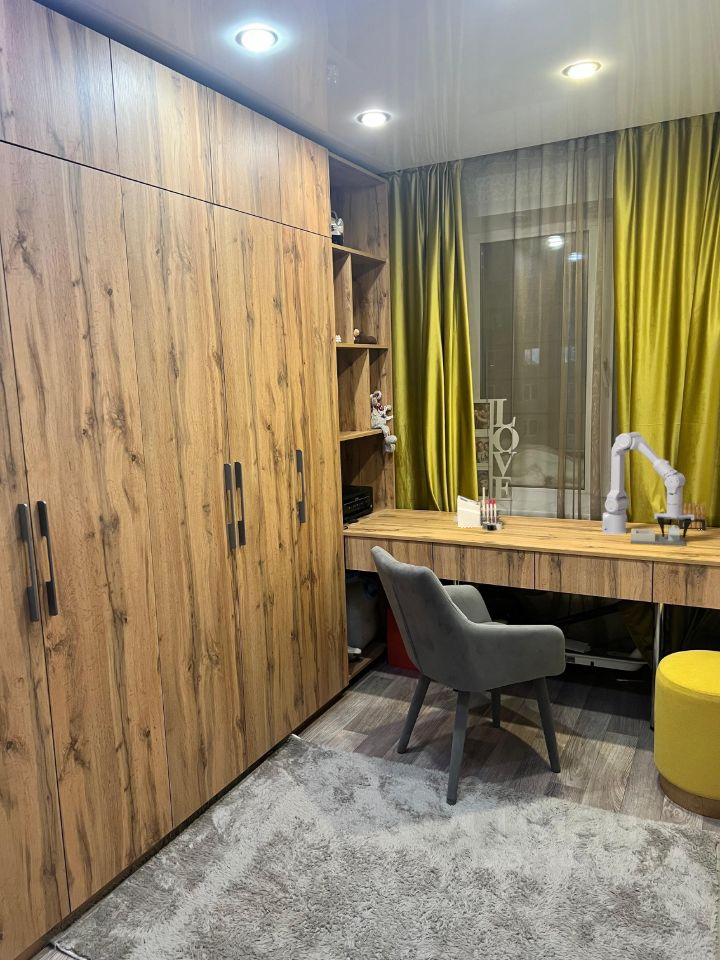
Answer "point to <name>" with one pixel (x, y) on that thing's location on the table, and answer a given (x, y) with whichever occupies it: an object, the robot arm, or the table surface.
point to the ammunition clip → (697, 522)
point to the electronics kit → (477, 513)
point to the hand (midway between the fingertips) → (673, 536)
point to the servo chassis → (653, 538)
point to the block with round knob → (673, 533)
